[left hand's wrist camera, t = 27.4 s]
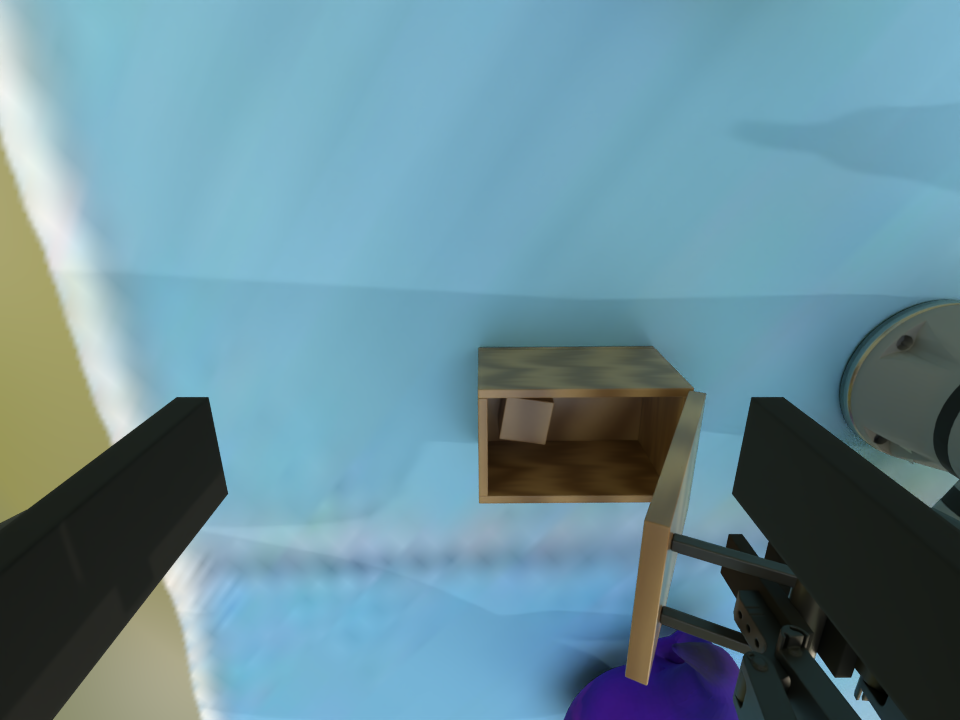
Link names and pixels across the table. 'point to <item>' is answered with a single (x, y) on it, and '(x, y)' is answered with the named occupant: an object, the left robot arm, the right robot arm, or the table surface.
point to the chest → (579, 423)
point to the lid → (668, 541)
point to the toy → (665, 686)
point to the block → (525, 419)
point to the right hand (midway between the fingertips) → (752, 554)
